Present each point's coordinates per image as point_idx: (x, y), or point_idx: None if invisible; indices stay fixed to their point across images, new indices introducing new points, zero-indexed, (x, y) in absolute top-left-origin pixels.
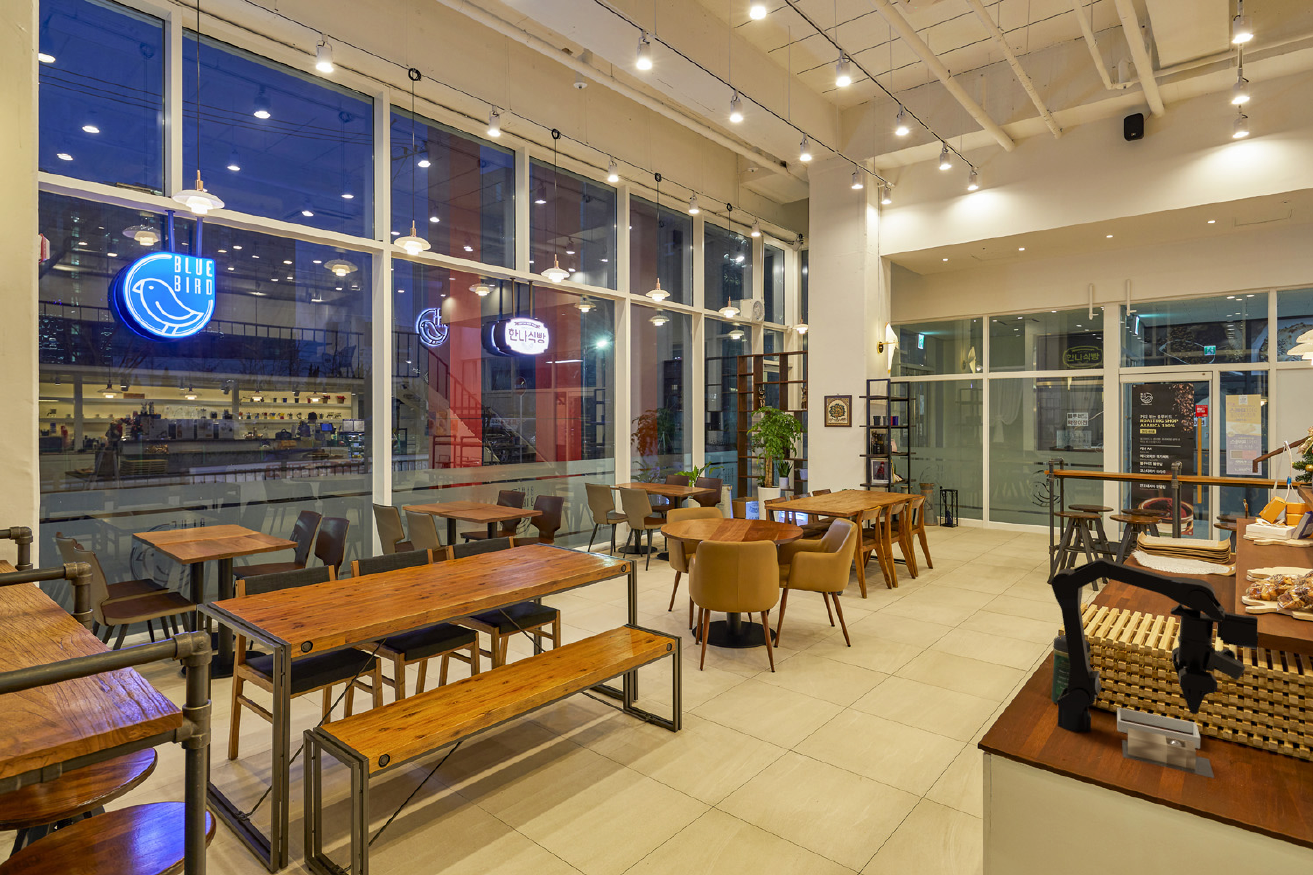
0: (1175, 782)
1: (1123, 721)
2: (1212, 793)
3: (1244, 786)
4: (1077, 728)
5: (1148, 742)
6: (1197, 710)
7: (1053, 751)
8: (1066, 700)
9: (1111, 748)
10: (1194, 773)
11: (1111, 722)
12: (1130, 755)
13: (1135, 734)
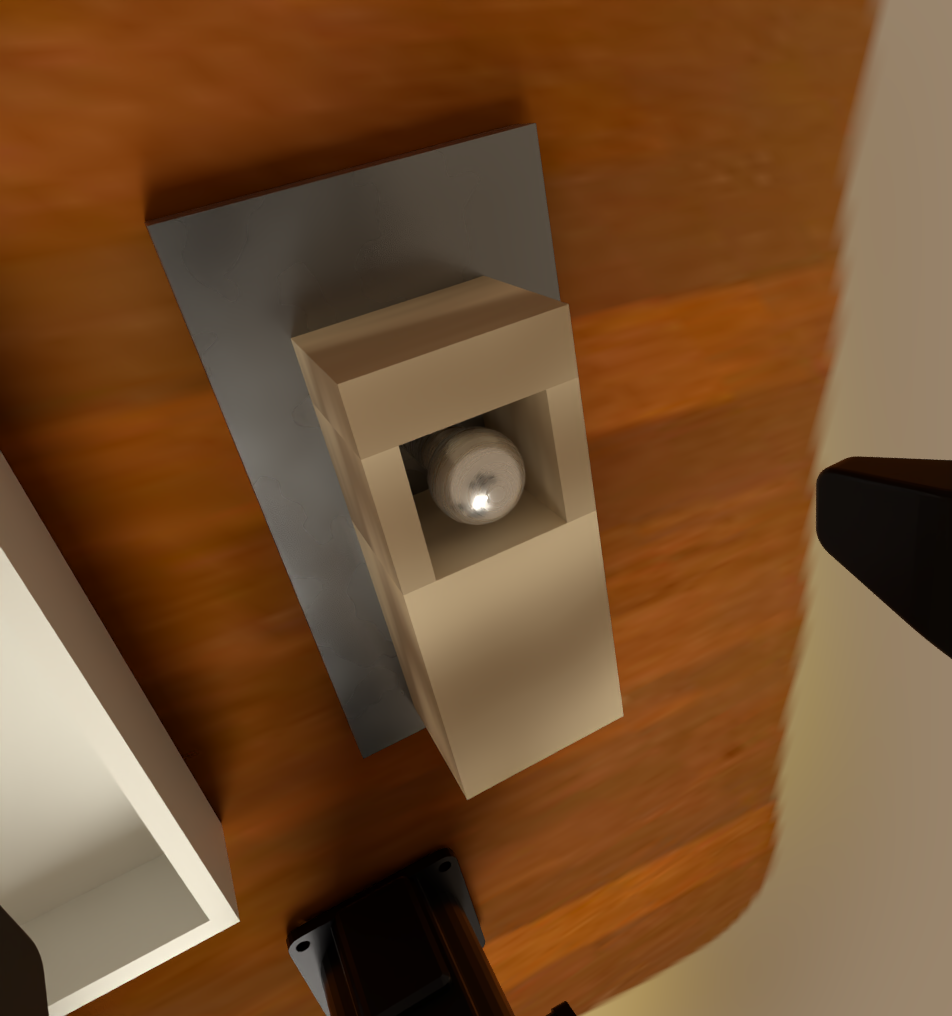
0: (672, 336)
1: (210, 903)
2: (689, 112)
3: None
4: (467, 923)
5: (605, 611)
6: (942, 468)
7: (685, 812)
8: None
9: None
10: (552, 265)
11: None
12: None
13: (550, 717)
